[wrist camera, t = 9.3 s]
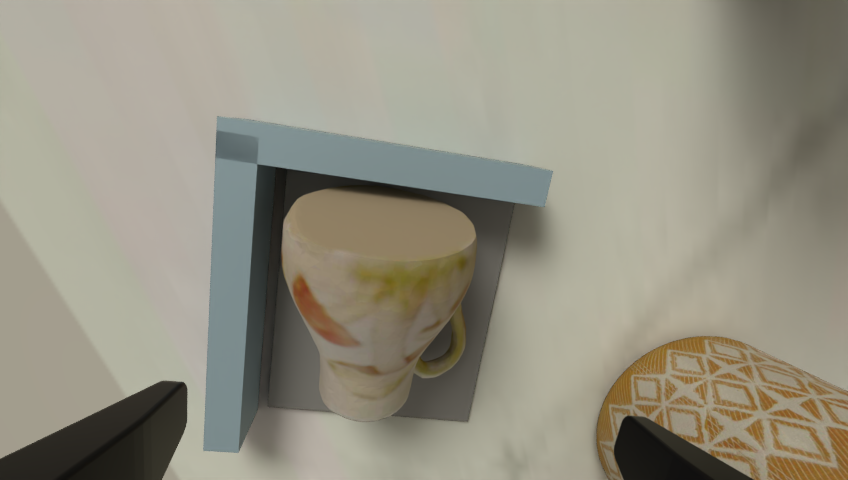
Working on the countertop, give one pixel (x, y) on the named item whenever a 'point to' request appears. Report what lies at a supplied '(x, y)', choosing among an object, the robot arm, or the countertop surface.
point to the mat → (453, 388)
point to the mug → (377, 290)
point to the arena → (251, 233)
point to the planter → (733, 409)
